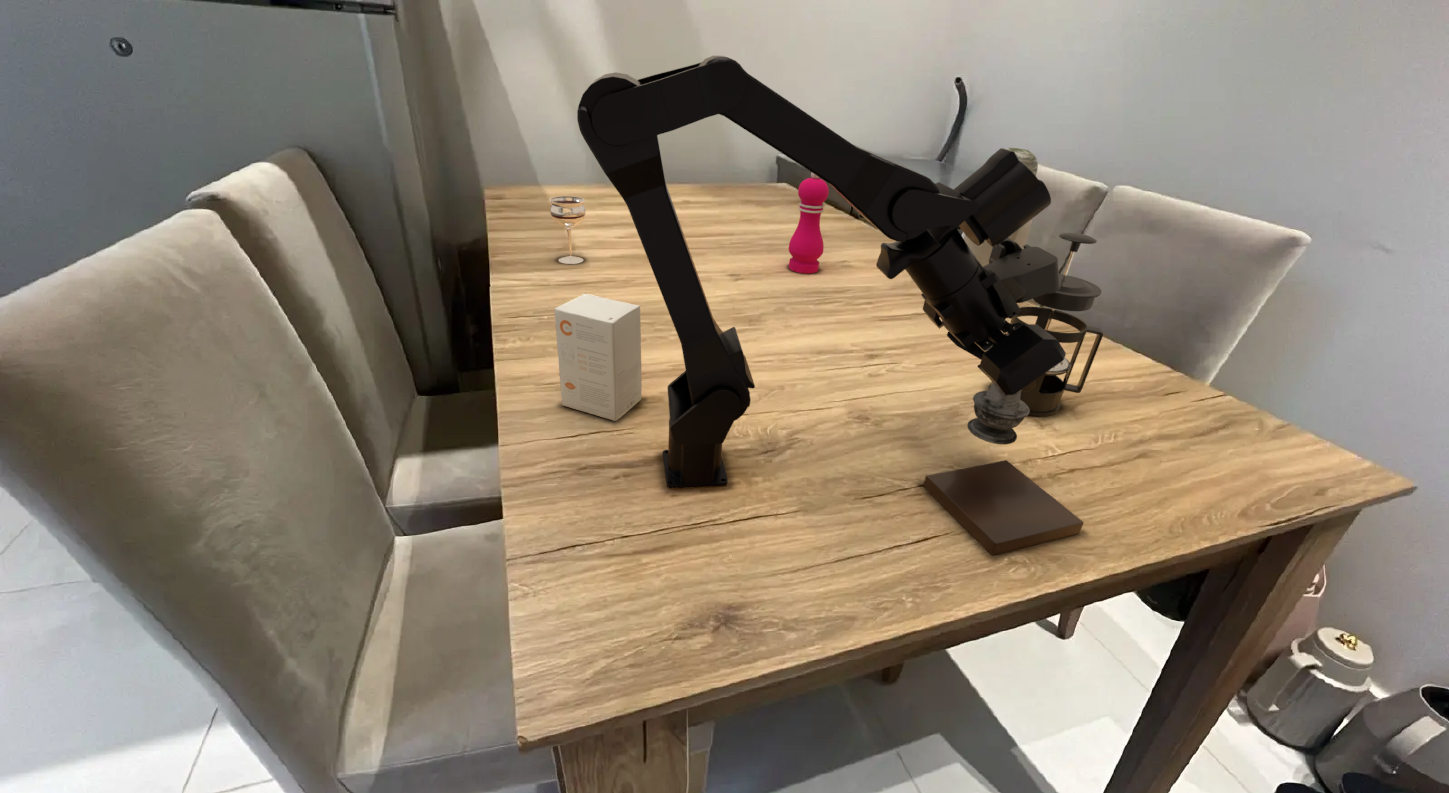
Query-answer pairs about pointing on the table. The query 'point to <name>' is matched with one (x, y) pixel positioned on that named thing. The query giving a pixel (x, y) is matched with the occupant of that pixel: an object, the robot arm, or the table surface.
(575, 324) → the small box
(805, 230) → the pepper mill
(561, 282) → the table surface
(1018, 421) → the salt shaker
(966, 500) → the walnut board
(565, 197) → the wineglass
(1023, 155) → the cream bottle
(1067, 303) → the french press
